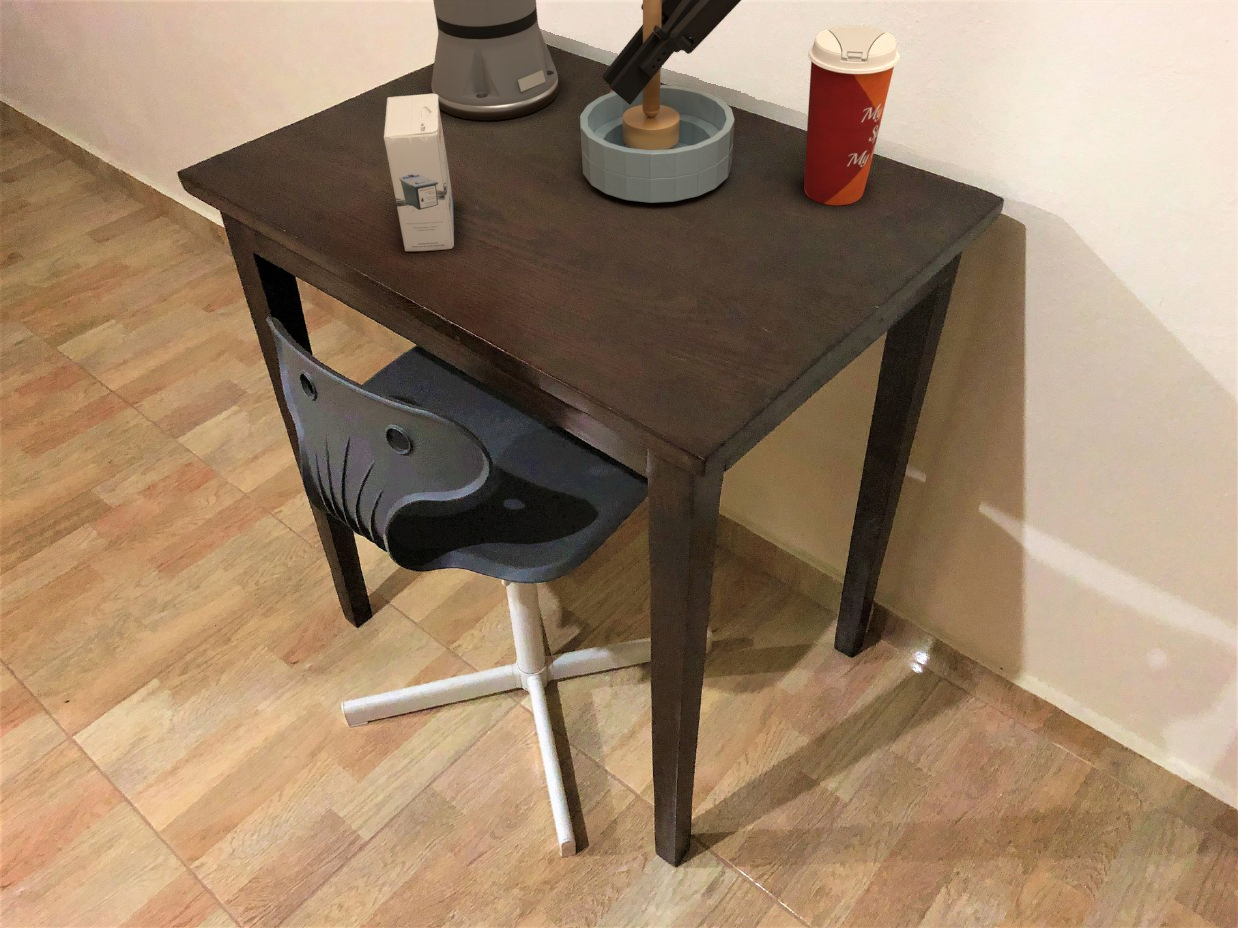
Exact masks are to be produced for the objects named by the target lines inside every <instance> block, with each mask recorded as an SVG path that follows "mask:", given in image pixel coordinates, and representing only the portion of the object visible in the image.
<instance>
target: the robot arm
mask: <svg viewBox="0 0 1238 928" xmlns="http://www.w3.org/2000/svg"><path fill="white" fill-rule="evenodd" d="M432 1H433V7H434V14H435V20H436V26H437V39H436V40H437V41H436V47H435V54H434V61H433V67H432V68H433V70H432V76H431V91H432V94H437V95H438V104H439V110H441V111H442V112H444V113H446V114H448V115H451V116H454V117H457V118H461V119H465V120H466V119H467V120H474V121H498V120H507V119H514V118H519V117H523V116H526V115H529V114H532V113H534V112H538V111H539V110H541V109H543V108H545V107H546V106H548V105H550V104H551V103H552V102H553V101H554V100H555V99H556V98H557V96H558V95H559V89H560V88H559V77H558V71H557V68H556V65H555V63H554V60H553V58H552V56H551V53H550V51H549V48H548V46H547V43H546V41H545V39H544V36H543V33H542V31H541V28H540V25H539V18H538V9H537V0H432ZM741 1H742V0H662V17H661V28H659V27H658V26H656V25H655V27H654V29H653V31H654V32H655V33H656V34H657V35H658V36H659V37H660V38H659V37H658V36H657V35H656V34H655V33H654V32H652V33H651V34H650V36H649V37H648V38H647V39H646V41H645V42H644V43H643V24H641V26H640V27H639V28H638V29H637V31H636V32H635V33H634V35H633V36H632V37H631V38H630V40H629V41H628V42H627V44H625V46H624V47H623V49H622V50H621V51H620V53H619V54H618V55H617V56H616V57H615V59H614V60H613V61H612V63H611V64H610V65H609V66H608V67H607V69H606V70H605V72H604V73H603V74H602V75H601V79H602V80H603V81H605V82H606V83H607V84H608V85H609V86H608V87H609V88H610V90H613V91H614V92H615V93H616V94H618V95H619V96H620V97H621V98H622V99H624V100H625V101H626V102H627V103H628V104H629V105H631V103H632V102H633V101H634V100H635V99H636V97H637V96H638V95H639V94H640V92H641V91H642V90H643V89H644V87H645V86H646V85H647V84H648V83H649V81H650V80H651V79H652V78H653V76H654V75H655V74H656V73H657V72H658V71H659V69H660V68H661V69H662V67H663V66H664V65H665V64H666V62H667V61H668V60H669V59H670V57H671V56H672V55H673V54H674V53H677V54H678V53H679V52H681V51H683V52H684V53H685V54H688V55H690V54H692V52H693V51H695V50H696V49H697V48H698V47H699V45H701V43H702V42H703V41H704V40H705V39H706V38H707V37H708V36H709V35H710V34H711V33H712V32H713V31H714V30H715V29H716V28H717V27H718V26H719V25H720V23H721V22H722V21H723V20H724V19H725V18H726V17H727V16H728V15H729V14H730V13H731V12H732V11H733V9H735V8H736V6H737V5H739V4H740V2H741ZM640 9H641V10H642V11H643V3H642V4H641V8H640Z"/></svg>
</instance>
